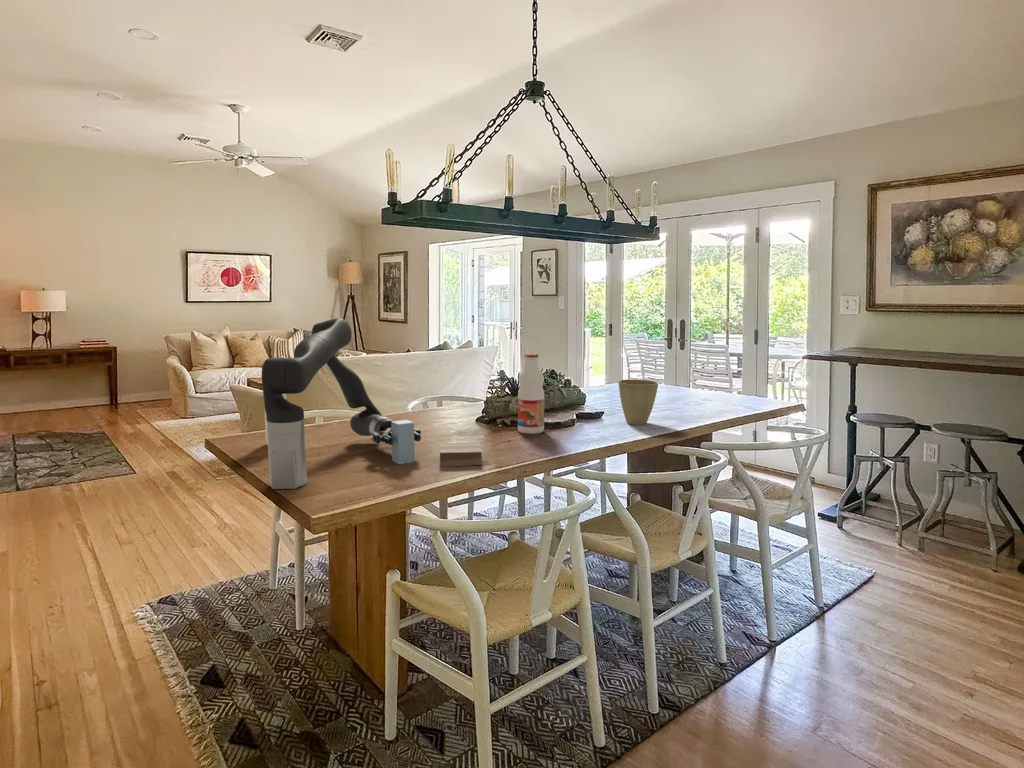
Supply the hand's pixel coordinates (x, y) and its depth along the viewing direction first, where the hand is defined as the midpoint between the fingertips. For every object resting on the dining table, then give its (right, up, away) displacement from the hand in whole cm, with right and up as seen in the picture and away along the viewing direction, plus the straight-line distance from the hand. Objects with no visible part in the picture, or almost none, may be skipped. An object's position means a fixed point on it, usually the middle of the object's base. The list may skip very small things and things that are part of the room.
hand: (405, 439), depth 194 cm
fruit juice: (+38, -1, +44) cm, 58 cm away
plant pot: (+79, +1, +59) cm, 99 cm away
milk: (-46, -4, +23) cm, 51 cm away
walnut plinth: (+16, -7, +4) cm, 18 cm away
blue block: (-1, -7, +3) cm, 7 cm away
